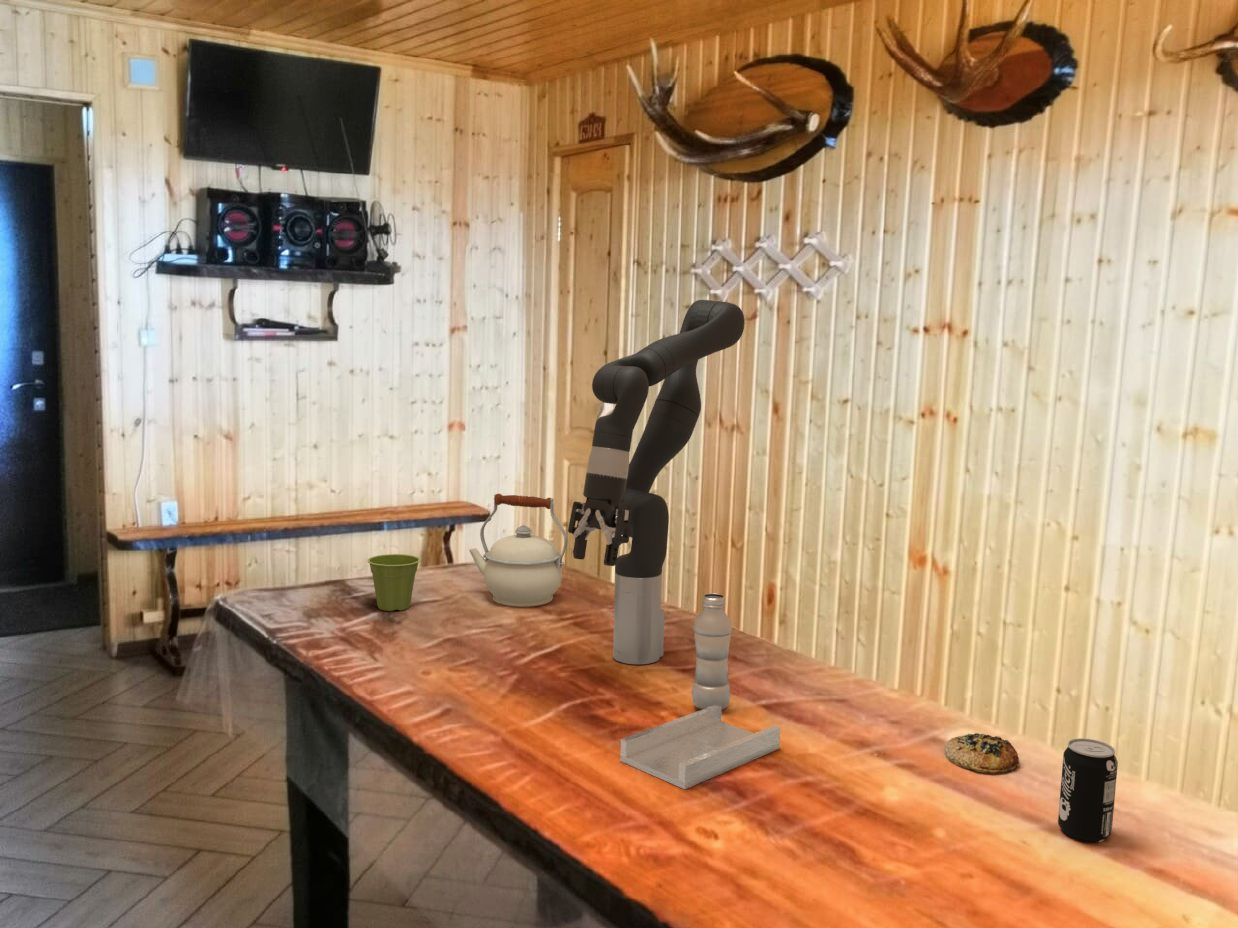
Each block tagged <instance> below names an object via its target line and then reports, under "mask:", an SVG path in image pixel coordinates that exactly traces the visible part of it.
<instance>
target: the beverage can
mask: <svg viewBox="0 0 1238 928" xmlns="http://www.w3.org/2000/svg"><path fill="white" fill-rule="evenodd" d="M1118 764H1119V762H1118V758H1117V757H1116V749H1115V748H1114V747H1113V746H1112V745H1110V744H1108V743H1106V742H1104V741H1100V740H1098V739H1093V738H1073V739H1070V740H1068V741H1067V748H1066V749H1065V750H1064V752H1063V756H1062V766H1061V767H1062V768H1061V780H1060V781H1061V782H1060V793H1059V803H1058V804H1059V806H1058V818H1057V824H1058V826H1059V828H1060V829H1061V831H1062V832H1063V833H1064V834H1065V835H1066V836H1067V837H1070V838H1072V839H1074V840H1077V841H1080V842H1086V843H1101V842H1103V841H1106V840H1107V839H1108V838H1109V837H1111V835H1112V832H1113V821H1114V811H1115V799H1116V798H1115V797H1116V790H1117V789H1116V787H1117V776H1118V767H1119V766H1118Z"/></svg>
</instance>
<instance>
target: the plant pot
mask: <svg viewBox="0 0 1238 928" xmlns="http://www.w3.org/2000/svg"><path fill="white" fill-rule="evenodd" d="M421 560H422V559H421V558H420V557H419V556H415V555H412V554H406V553H405V554H403V553H402V554H401V553H388V554H379V555H373V556H371V557H369V558H367V560H366V562H367V563H368V564H369V566H370V572H371V573H372V579H373V580H372V581H373V587H374V592H375V593H374V594H375V598H376V605H377V608H378V609H379V610H381V611H387V612H392V611H396V610H398V611H404V610H407V609H409V608H410V606H411V602H412V595H413V590H414V583H415V578H416V573H417V571H418V566H419V563H420V562H421Z"/></svg>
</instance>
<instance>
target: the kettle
mask: <svg viewBox="0 0 1238 928" xmlns="http://www.w3.org/2000/svg"><path fill="white" fill-rule="evenodd" d="M493 496H494V497H493V509H492V512H491V513H490V515H488V517H487V518H486V520H485V521H484V522H483V523H482V525H481V528H480V532H479V533H480V534H479V536H480V537H479V538H480V541H481V546H482V547H483V550H484V554H483V555H482V554H481V553H480V552H479V550H478V549H477V548H475V547H474V548H469V549H468V551H469V553H470V556H471V557H472V559H473V561H474V564H475V565H476V567H477V569H478V570H479V572H480V574H482V576H483V577H484V583H485V586H486V588H487V590H488V591H489V592H490V593H491V594H492V600H493V601H494V602H495V603H497V604H499V605H502V606H506V607H512V608H513V607H514V608H529V607H530V608H532V607H538V606H540V607H541V606H543V605H546V604H549V603H550V602H552V601H553V599H554V596H553V595H554V594H555V593H556V591H558V589H559V588H560V586H561V584H562V581H563V573H562V572H563V571H562V567H563V566H565V562H563V557H564V555H565V553H566V551H567V547H568V543H569V542H568V541H569V540H568V534H567V532H566V530H565V527H563V525H562V523H560V521H559V520H558V519H557V517H556V515H555V509H554V506H555V503H554V502H555V501H554V500H555V499H554V498H552V497H547V498H543V497H538V496H527V495H516V494H511V495H509V494H508V495H503V494H502V493H494V495H493ZM500 505H508V506H512V507H523V508H532V509H533V508H535V509H536V508H545V509H547V510H550V512H549V513H550V516H551V517H550V518H551V519H552V521H553V522H554V523H555V524H556V526H557V527H558V528H559V530H560V531H561V533H562V536H563V539H564V543H563V548H562V551H561V553H560V552H559V551H558V549H556V546H555V545H554V544H553V542H552V541H550V540H549V539H547V538H545V537H542V536H538V535H533V534H532V533H533V531H532V530H531V528H530V527H529V526H526V525H525V524H522V525H520V526H518V527H517V528H516V529H515V531H514V533H515V535H506V536H505V537H502V538H500V539H498V540H497V541H495V542H494V543H493V544H492V546H491V547H490V549H489V548H488V546H487V543H486V542H487V541H486V539H485V534H484V533H485V532H484V531H485V527H486V526H487V524H488V523H489V521H490V520H491V519H492V517H493V516H495V514H496V513H497V511H498V506H500Z"/></svg>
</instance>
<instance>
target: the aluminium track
mask: <svg viewBox="0 0 1238 928" xmlns="http://www.w3.org/2000/svg"><path fill="white" fill-rule="evenodd" d="M722 711H723V710H722V707H721V706H718V705H714V706H711V707H708V708H705V709H703V710H702V709H699V710H697V711H695V712H692V713H690V714H686V715H684V716H680V717H678V718H675V719H672V720H670V721H667V722H665V723H662V724H659V725H656V726H654V727H651V728H648V729H644V730H642V731H640V732H637V733H634V734H630V735H629V736H626V737H623V738H620V759H619V760H620V762H621V763H624V764H625V765H628V766H631V767H632V768H635V769H637V770H639V771H641V772H644V773H646V774H649V775H650V776H654V777H656V778H658V779H660V780H662V781H665V782H667V783H668V784H669V783H670V784H671V785H674V786H676V787H678V788H680V789H682V790H687V789H690V788H691V787H694V786H696V785H699V784H701V783H704V782H706V781H707V780H708V781H709V780H710V779H713V778H714V777H717V776H720V775H722V774H724V773H727V772H729V771H732V770H734V769H736V768H737V767H740V766H742V765H744V764H747V763H750V762H752V761H754V760H756V759H758V758H761V757H763V756H765V755H768V754H770V753H772V752H775V751H778V750H779V749H780V740H781V739H780V738H781V727H780V726H777V725H774V724H773V725H771V726H768V727H766V728H763V729H762V730H759V731H757V732H751V731H749V730H747V729H743V728H741V727H739V726H735V725H732V724H729V723H728V722H725V721H722Z"/></svg>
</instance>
